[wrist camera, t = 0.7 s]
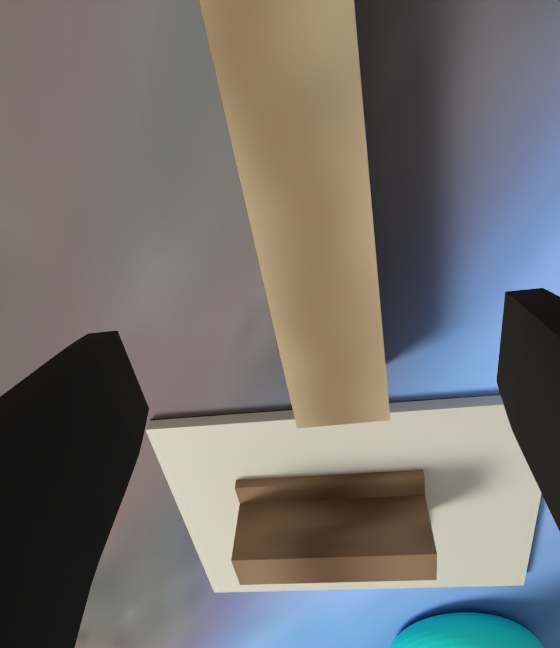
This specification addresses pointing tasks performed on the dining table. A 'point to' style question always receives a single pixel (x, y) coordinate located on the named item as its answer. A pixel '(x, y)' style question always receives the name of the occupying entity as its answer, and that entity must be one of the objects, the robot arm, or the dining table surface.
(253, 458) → the board
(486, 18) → the dining table surface
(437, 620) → the donuts
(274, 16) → the bar
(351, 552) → the block
